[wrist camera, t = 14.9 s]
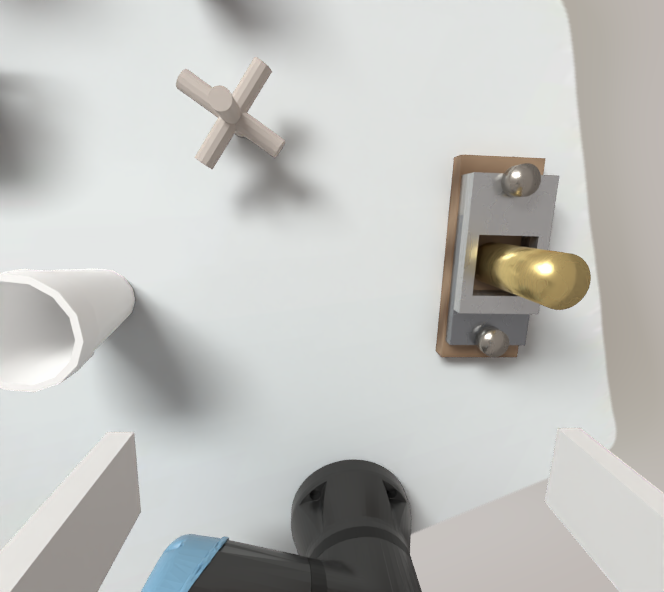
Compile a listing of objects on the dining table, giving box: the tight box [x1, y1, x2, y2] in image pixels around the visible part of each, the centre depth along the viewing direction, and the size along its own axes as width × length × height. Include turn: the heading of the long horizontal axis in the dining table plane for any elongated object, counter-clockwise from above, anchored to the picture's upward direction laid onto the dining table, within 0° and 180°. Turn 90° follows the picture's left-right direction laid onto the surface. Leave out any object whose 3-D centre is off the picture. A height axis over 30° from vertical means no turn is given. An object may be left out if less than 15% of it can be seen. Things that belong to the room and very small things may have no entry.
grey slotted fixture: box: [445, 163, 559, 357], centre depth 39 cm, size 20×9×5 cm, turn 178°
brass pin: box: [475, 242, 591, 310], centre depth 36 cm, size 4×4×12 cm
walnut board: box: [436, 155, 545, 357], centre depth 42 cm, size 22×9×2 cm, turn 178°
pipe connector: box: [176, 57, 285, 169], centre depth 34 cm, size 10×10×10 cm
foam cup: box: [0, 269, 135, 392], centre depth 35 cm, size 10×9×13 cm
